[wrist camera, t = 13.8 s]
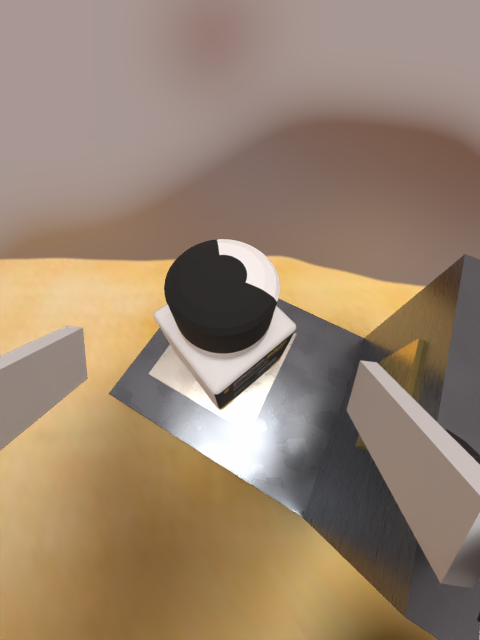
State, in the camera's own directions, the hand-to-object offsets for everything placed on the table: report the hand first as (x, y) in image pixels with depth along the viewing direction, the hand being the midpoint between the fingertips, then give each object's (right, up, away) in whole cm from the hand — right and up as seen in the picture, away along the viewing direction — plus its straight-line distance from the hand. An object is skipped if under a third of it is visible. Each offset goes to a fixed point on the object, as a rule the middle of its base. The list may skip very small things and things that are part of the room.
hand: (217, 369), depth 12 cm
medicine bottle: (0, -1, +11) cm, 11 cm away
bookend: (+2, -3, +14) cm, 14 cm away
